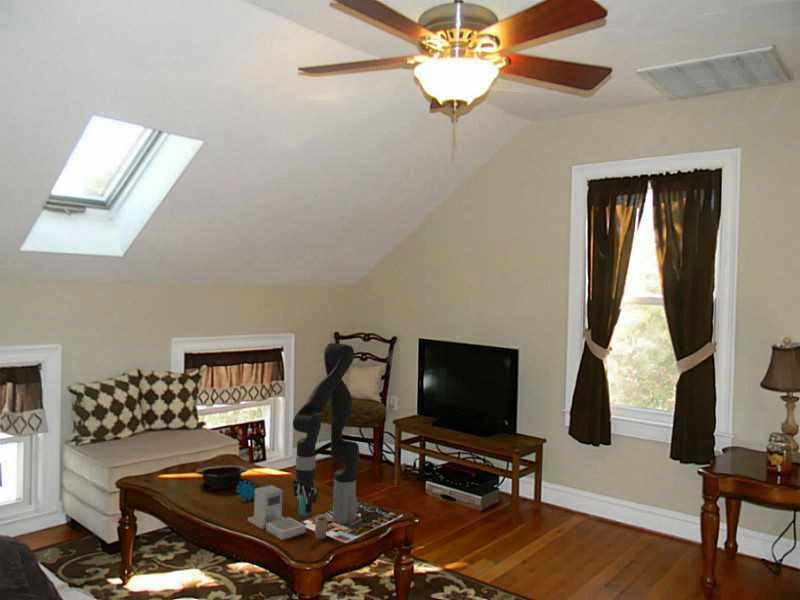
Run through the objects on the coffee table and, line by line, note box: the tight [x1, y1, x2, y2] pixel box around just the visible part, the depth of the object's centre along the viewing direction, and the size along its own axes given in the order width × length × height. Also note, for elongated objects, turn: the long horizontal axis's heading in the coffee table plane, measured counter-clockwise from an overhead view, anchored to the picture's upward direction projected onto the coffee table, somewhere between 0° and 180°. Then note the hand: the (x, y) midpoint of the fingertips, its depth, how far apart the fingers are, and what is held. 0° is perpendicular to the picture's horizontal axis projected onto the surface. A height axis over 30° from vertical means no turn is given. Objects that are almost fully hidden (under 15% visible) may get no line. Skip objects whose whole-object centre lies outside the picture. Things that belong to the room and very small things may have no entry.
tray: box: [265, 517, 307, 541], centre depth 260 cm, size 11×11×3 cm
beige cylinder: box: [314, 515, 328, 540], centre depth 256 cm, size 4×4×8 cm
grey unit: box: [247, 484, 286, 530], centre depth 269 cm, size 12×11×14 cm
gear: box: [236, 480, 256, 502], centre depth 296 cm, size 11×6×10 cm
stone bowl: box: [195, 464, 250, 491], centre depth 314 cm, size 25×25×9 cm
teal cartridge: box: [298, 493, 311, 516], centre depth 249 cm, size 4×4×8 cm
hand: (304, 510), depth 249 cm, fingers closed on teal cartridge, 4 cm apart
